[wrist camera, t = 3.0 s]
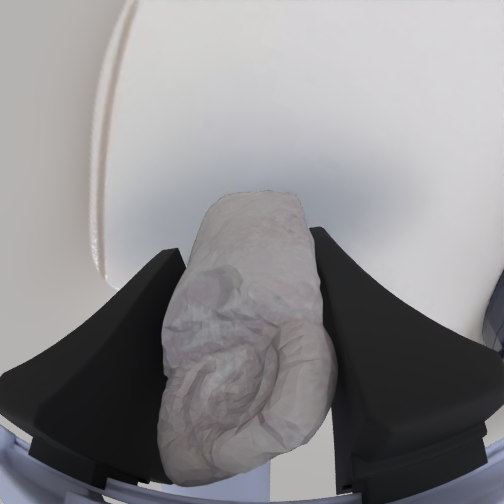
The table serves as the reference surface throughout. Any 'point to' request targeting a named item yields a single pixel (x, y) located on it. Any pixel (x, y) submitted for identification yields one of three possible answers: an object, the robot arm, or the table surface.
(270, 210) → the fossil
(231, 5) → the table surface
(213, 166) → the table surface
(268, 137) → the table surface
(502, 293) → the round tray
